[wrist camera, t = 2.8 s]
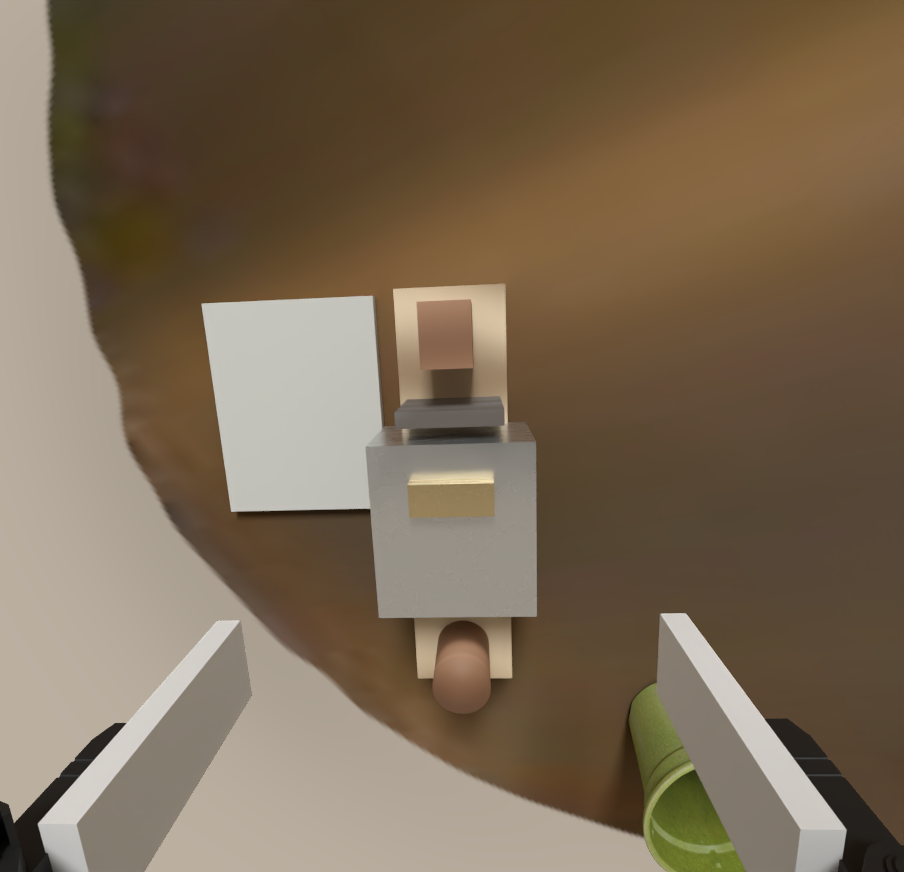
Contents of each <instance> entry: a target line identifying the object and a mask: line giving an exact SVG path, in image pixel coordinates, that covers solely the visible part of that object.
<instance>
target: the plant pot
mask: <svg viewBox="0 0 904 872" xmlns="http://www.w3.org/2000/svg"><path fill="white" fill-rule="evenodd" d="M629 726H630V730H631V735H632V739H633V743H634V747H635V751H636V756H637V760H638V765H639V770H640V774H641V779H642V784H643V789H644V793H645V795H644V808H645V809H644V813H643V833H644V838H645V841H646V844H647V847H648V849H649V851H650V853H651V855H652V856H653V858H654V859H655V860H656V862H657V863H658V864H659V865H660V866H661V867H662V868H663V869H665V870H666V871H667V872H746V870H745V868H744V866H743V864H742V862H741V860H740V858H739V856H738V854H737V852H736V850H735V848H734V846H733V844H732V842H731V840H730V838H729V836H728V834H727V832H726V830H725V828H724V826H723V824H722V822H721V820H720V818H719V816H718V814H717V812H716V810H715V808H714V806H713V804H712V802H711V800H710V798H709V796H708V794H707V792H706V790H705V788H704V786H703V784H702V782H701V780H700V778H699V776H698V774H697V772H696V770H695V768H694V766H693V764H692V762H691V760H690V758H689V756H688V754H687V752H686V750H685V748H684V746H683V744H682V742H681V740H680V738H679V736H678V734H677V732H676V730H675V728H674V726H673V724H672V722H671V720H670V718H669V716H668V714H667V712H666V710H665V708H664V706H663V704H662V702H661V700H660V698H659V696H658V694H657V683H654V684H652V685H650V686H648V687H646V688H645V689H643V690H642V691H641V692H640V693H639V694H638V695H637V696H636V697H635V699H634V700H633V702H632V704H631V710H630V716H629Z"/></svg>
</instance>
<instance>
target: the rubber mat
mask: <svg viewBox="0 0 904 872" xmlns="http://www.w3.org/2000/svg"><path fill="white" fill-rule="evenodd" d="M202 310H203V317H204V324H205V331H206V338H207V345H208V352H209V359H210V366H211V373H212V380H213V387H214V394H215V401H216V408H217V415H218V422H219V429H220V436H221V443H222V450H223V457H224V464H225V471H226V478H227V485H228V492H229V499H230V506H231V512H235V511H281V510H326V509H370V499H369V486H368V474H367V462H366V449H365V447H366V445H367V444H368V443H369V442H370V441H371V440H372V439H373V438H374V437H375V436H376V435H377V434H378V433H379V432H380V431H381V430H382V428H383V427H384V414H383V400H382V386H381V372H380V358H379V344H378V330H377V316H376V302H375V296H358V297H336V298H315V299H293V300H272V301H250V302H228V303H207V304H202Z"/></svg>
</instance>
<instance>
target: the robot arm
mask: <svg viewBox="0 0 904 872" xmlns="http://www.w3.org/2000/svg"><path fill="white" fill-rule="evenodd" d="M657 694H658V696H659V698H660V700H661V702H662V704H663V706H664V708H665V710H666V712H667V714H668V716H669V718H670V720H671V722H672V724H673V726H674V728H675V730H676V732H677V734H678V736H679V738H680V740H681V742H682V744H683V746H684V748H685V750H686V752H687V754H688V756H689V758H690V760H691V762H692V764H693V766H694V768H695V770H696V772H697V774H698V776H699V778H700V780H701V782H702V784H703V786H704V788H705V790H706V792H707V794H708V796H709V798H710V800H711V802H712V804H713V806H714V808H715V810H716V812H717V814H718V816H719V818H720V820H721V822H722V824H723V826H724V828H725V830H726V832H727V834H728V836H729V838H730V840H731V842H732V844H733V846H734V848H735V850H736V852H737V854H738V856H739V858H740V860H741V862H742V864H743V866H744V868H745V870H746V872H904V846H902V845H900V844H899V843H898V842H897V840H896V839H895V838H894V837H893V836H892V834H891V833H890V832H889V831H888V830H887V828H886V827H885V826H884V825H883V823H882V822H881V821H880V820H879V819H878V817H877V816H876V815H875V814H874V813H873V811H872V810H871V809H870V808H869V806H868V805H867V804H866V803H865V802H864V800H863V799H862V798H861V797H860V796H859V794H858V793H857V792H856V791H855V790H854V788H853V787H852V786H851V785H850V783H849V782H848V781H847V780H846V779H845V778H843V777H842V776H841V773H840V771H839V770H838V769H837V768H836V766H835V765H834V764H833V763H832V762H831V760H828V758H827V756H826V754H825V753H824V752H823V751H822V750H821V748H820V747H819V746H818V745H817V743H816V742H815V741H814V740H813V739H812V737H811V736H810V735H808V734H807V733H806V732H804V731H803V730H802V729H800V728H799V727H798V726H796V725H795V724H794V723H792V722H791V721H790V720H788V719H764V718H763V717H762V715H761V714H760V712H759V711H758V710H757V708H756V707H755V706H754V704H753V703H752V702H751V700H750V699H749V698H748V696H747V695H746V694H745V692H744V691H743V690H742V688H741V687H740V686H739V684H738V683H737V682H736V680H735V679H734V677H733V676H732V675H731V673H730V672H729V671H728V669H727V668H726V667H725V665H724V664H723V663H722V661H721V660H720V659H719V657H718V656H717V655H716V653H715V652H714V651H713V649H712V648H711V647H710V645H709V644H708V642H707V641H706V640H705V638H704V637H703V636H702V634H701V633H700V632H699V630H698V629H697V628H696V626H695V625H694V624H693V622H692V621H691V620H690V618H689V617H688V616H687V614H686V613H676V614H660V627H659V649H658V670H657ZM251 696H252V694H251V686H250V679H249V673H248V666H247V660H246V653H245V646H244V640H243V633H242V627H241V621H240V620H234V621H217V622H216V623H215V624H214V625H213V626H212V627H211V628H210V630H209V631H208V632H207V633H206V634H205V635H204V636H203V637H202V639H201V640H200V641H199V642H198V643H197V644H196V646H195V647H194V648H193V649H192V650H191V651H190V652H189V653H188V654H187V656H186V657H185V658H184V659H183V660H182V661H181V662H180V664H179V665H178V666H177V667H176V668H175V669H174V670H173V671H172V673H171V674H170V675H169V676H168V677H167V678H166V679H165V681H164V682H163V683H162V684H161V685H160V686H159V687H158V688H157V689H156V691H155V692H154V693H153V694H152V695H151V696H150V698H149V699H148V700H147V701H146V702H145V703H144V704H143V706H142V707H141V708H140V709H139V710H138V711H137V712H136V713H135V714H134V715H133V717H132V718H131V719H130V720H129V721H128V722H127V723H115V724H113V725H112V726H111V727H109V728H108V729H106V730H105V731H104V732H102V733H101V734H99V735H98V736H96V737H95V738H94V739H92V740H91V742H90V743H89V744H88V745H87V746H86V747H85V748H84V749H83V750H82V751H81V752H80V753H79V754H78V756H77V757H76V758H75V761H74V762H71V763H70V764H69V765H68V766H67V767H66V768H65V770H63V772H62V773H61V775H60V777H59V778H56V779H55V780H54V781H53V782H52V783H51V784H50V786H49V787H48V788H47V789H46V790H45V791H44V792H43V793H42V794H41V795H40V797H38V798H37V799H36V800H35V802H34V803H33V804H32V805H31V806H30V807H29V808H28V809H27V810H26V811H25V812H24V813H23V814H22V816H21V817H20V818H19V819H18V820H17V821H16V822H15V823H14V822H13V819H12V815H11V811H10V808H9V805H8V804H6V803H3V802H1V801H0V872H144V871H145V870H146V868H147V866H148V865H149V863H150V862H151V860H152V858H153V857H154V855H155V853H156V851H157V850H158V848H159V847H160V845H161V843H162V842H163V840H164V838H165V837H166V835H167V834H168V832H169V830H170V829H171V827H172V825H173V824H174V822H175V821H176V819H177V817H178V816H179V814H180V812H181V811H182V809H183V807H184V806H185V804H186V803H187V801H188V799H189V797H190V796H191V794H192V793H193V791H194V789H195V788H196V786H197V784H198V783H199V781H200V779H201V778H202V776H203V775H204V773H205V771H206V769H207V768H208V766H209V765H210V763H211V761H212V760H213V758H214V756H215V755H216V753H217V752H218V750H219V748H220V747H221V745H222V743H223V742H224V740H225V739H226V737H227V735H228V733H229V732H230V730H231V729H232V727H233V725H234V723H235V722H236V720H237V719H238V717H239V716H240V714H241V712H242V711H243V709H244V707H245V706H246V704H247V702H248V701H249V699H250V697H251Z"/></svg>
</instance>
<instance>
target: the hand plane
mask: <svg viewBox="0 0 904 872" xmlns="http://www.w3.org/2000/svg"><path fill="white" fill-rule="evenodd" d="M393 293H394V309H395V325H396V340H397V356H398V372H399V387H400V403H401V406H400V407H399V408H398V409H397V410H396V411H395V413H394V415H395V429H418V428H451V427H483V426H505V423H506V422H508V416H507V360H506V303H505V284H490V285H468V286H447V287H426V288H405V289H393ZM414 623H415V639H416V655H417V670H418V678H433V685H432V690H433V695H434V697H435V699H436V701H437V702H438V703H439V705H440V706H442V707H443V708H444V709H446V710H448V711H450V712H453V713H457V714H468V713H473V712H475V711H477V710H479V709H481V708H482V707H483V706H484V705H485V704H486V703H487V701H488V699H489V697H490V693H491V682H490V678H512V644H511V617H435V618H414Z"/></svg>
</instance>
